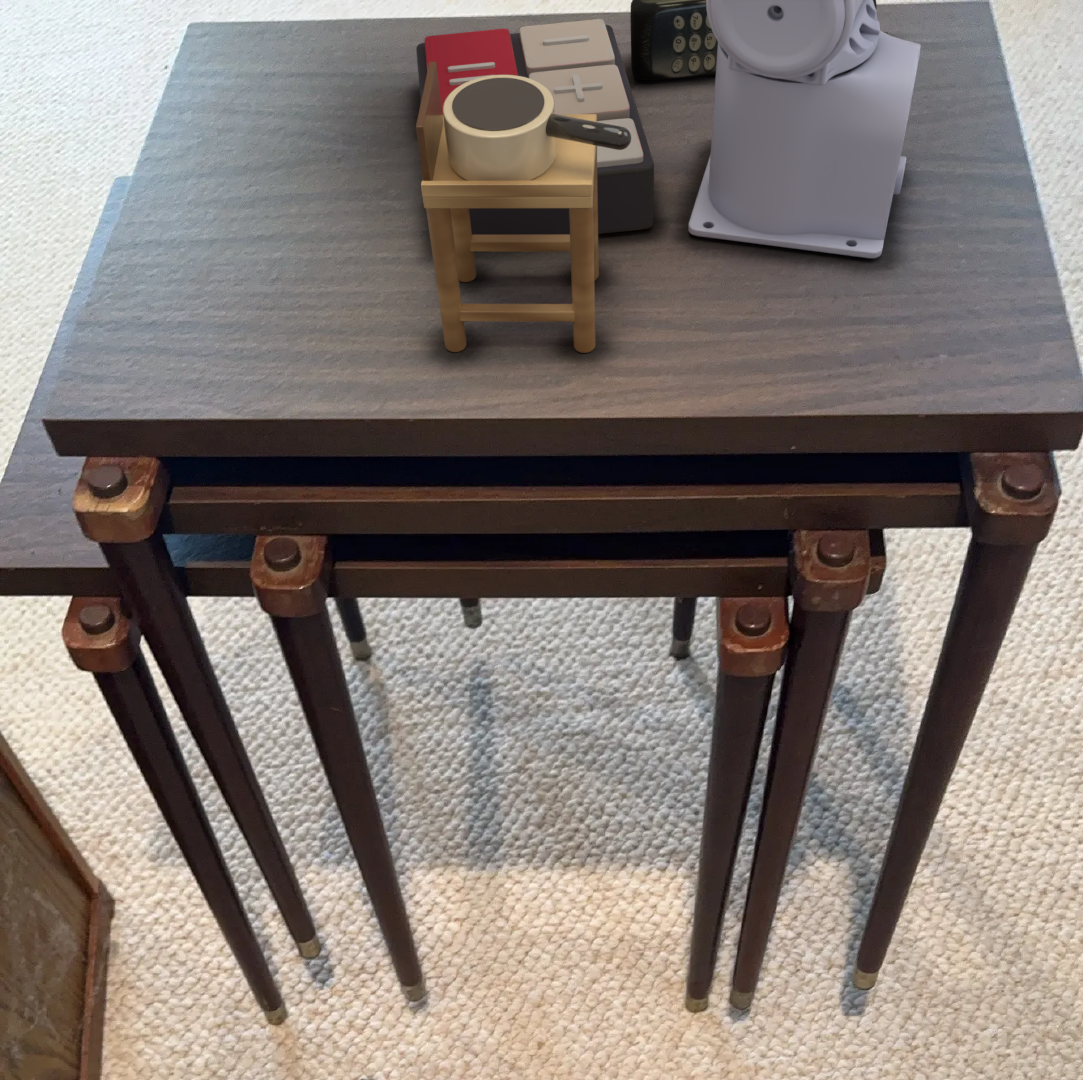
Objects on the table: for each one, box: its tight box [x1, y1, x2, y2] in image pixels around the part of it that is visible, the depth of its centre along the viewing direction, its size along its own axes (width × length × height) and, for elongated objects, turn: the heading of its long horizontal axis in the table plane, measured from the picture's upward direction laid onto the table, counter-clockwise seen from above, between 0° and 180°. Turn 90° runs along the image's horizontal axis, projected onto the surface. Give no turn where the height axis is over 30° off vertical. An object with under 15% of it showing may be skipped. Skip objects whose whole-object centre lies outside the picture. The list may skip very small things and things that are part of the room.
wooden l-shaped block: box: [415, 62, 597, 210], centre depth 54 cm, size 7×6×4 cm
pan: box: [443, 75, 631, 181], centre depth 53 cm, size 8×5×2 cm, turn 68°
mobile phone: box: [629, 0, 889, 81], centre depth 72 cm, size 5×3×15 cm
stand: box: [425, 146, 600, 354], centre depth 58 cm, size 7×6×8 cm
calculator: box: [415, 18, 655, 235], centre depth 67 cm, size 11×4×15 cm
